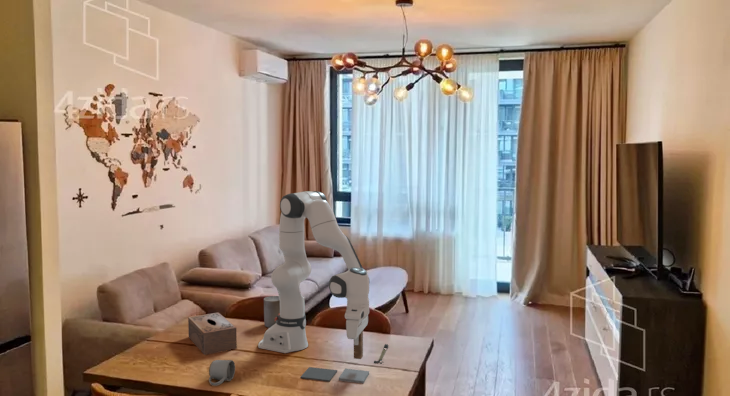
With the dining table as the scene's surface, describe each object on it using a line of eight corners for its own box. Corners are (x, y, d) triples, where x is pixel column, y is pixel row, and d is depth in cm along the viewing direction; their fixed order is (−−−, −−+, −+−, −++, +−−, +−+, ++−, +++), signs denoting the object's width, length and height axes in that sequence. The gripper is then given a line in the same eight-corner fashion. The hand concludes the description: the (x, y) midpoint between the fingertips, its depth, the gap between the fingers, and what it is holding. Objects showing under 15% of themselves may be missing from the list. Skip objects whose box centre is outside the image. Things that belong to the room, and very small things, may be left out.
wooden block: (353, 358, 227) (353, 324, 226) (355, 355, 230) (355, 322, 229) (360, 359, 227) (360, 325, 225) (362, 356, 229) (362, 322, 228)
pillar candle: (286, 322, 290) (285, 293, 289) (279, 328, 281) (278, 298, 279) (268, 321, 292) (267, 292, 291) (260, 327, 283) (260, 297, 281)
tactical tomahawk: (388, 367, 237) (389, 364, 237) (373, 364, 238) (373, 361, 238) (397, 348, 257) (398, 346, 257) (383, 345, 259) (383, 343, 258)
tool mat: (300, 378, 223) (300, 376, 223) (309, 368, 232) (309, 366, 232) (329, 381, 220) (329, 380, 220) (337, 371, 229) (337, 370, 229)
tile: (345, 372, 230) (338, 382, 221) (345, 368, 229) (338, 378, 221) (369, 375, 227) (363, 385, 219) (369, 371, 227) (363, 381, 218)
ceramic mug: (216, 374, 226) (216, 355, 225) (235, 376, 224) (235, 357, 224) (203, 385, 216) (203, 366, 215) (223, 387, 214) (223, 368, 213)
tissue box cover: (236, 349, 254) (236, 327, 253) (204, 355, 246) (203, 333, 245) (218, 332, 276) (218, 312, 274) (188, 337, 268) (188, 317, 267)
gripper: (357, 301, 237) (357, 333, 239) (343, 315, 217) (343, 350, 219) (371, 302, 236) (371, 334, 237) (359, 317, 216) (359, 352, 217)
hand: (358, 342), depth 228 cm, fingers closed on wooden block, 3 cm apart
